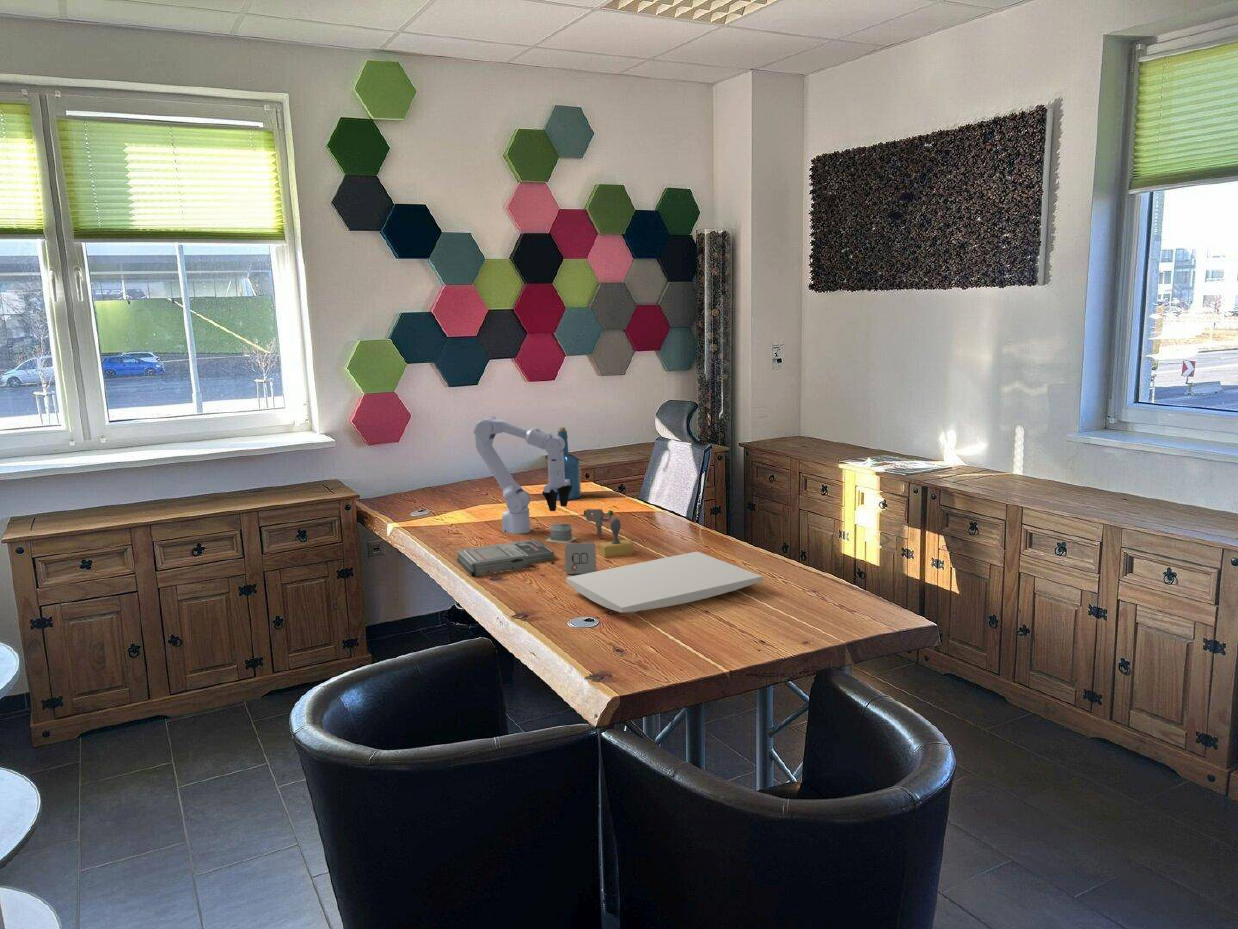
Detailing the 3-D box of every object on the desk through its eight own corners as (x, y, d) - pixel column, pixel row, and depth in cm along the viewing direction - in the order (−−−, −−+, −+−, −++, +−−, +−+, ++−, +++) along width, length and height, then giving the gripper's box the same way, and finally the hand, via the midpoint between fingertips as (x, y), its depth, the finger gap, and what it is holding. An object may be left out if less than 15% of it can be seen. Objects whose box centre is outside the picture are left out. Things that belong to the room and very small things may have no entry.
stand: (544, 544, 316) (544, 540, 316) (555, 540, 322) (555, 535, 322) (567, 547, 312) (567, 543, 312) (577, 542, 318) (577, 537, 318)
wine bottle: (543, 499, 390) (539, 428, 385) (562, 493, 401) (559, 424, 395) (569, 502, 382) (565, 430, 377) (588, 496, 393) (585, 426, 388)
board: (622, 625, 236) (621, 607, 235) (566, 593, 264) (566, 577, 263) (762, 592, 257) (762, 576, 257) (697, 566, 285) (697, 551, 284)
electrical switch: (565, 575, 280) (564, 544, 279) (566, 571, 285) (565, 542, 285) (596, 574, 280) (595, 543, 279) (596, 570, 285) (595, 541, 285)
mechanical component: (613, 539, 320) (611, 511, 318) (584, 538, 322) (583, 510, 320) (614, 537, 323) (613, 509, 321) (586, 536, 325) (585, 509, 323)
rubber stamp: (605, 558, 297) (603, 521, 295) (599, 553, 303) (597, 518, 301) (633, 554, 301) (632, 518, 298) (627, 550, 306) (626, 514, 304)
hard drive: (457, 563, 299) (456, 550, 298) (536, 551, 309) (536, 539, 309) (471, 578, 282) (470, 564, 281) (555, 565, 293) (554, 551, 292)
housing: (550, 540, 316) (550, 525, 315) (556, 537, 320) (556, 523, 319) (566, 541, 314) (565, 527, 313) (571, 538, 317) (571, 524, 316)
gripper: (555, 475, 315) (557, 513, 318) (576, 467, 328) (578, 505, 330) (537, 474, 319) (540, 512, 321) (559, 466, 331) (561, 503, 334)
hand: (558, 508), depth 326 cm, fingers open, 7 cm apart
